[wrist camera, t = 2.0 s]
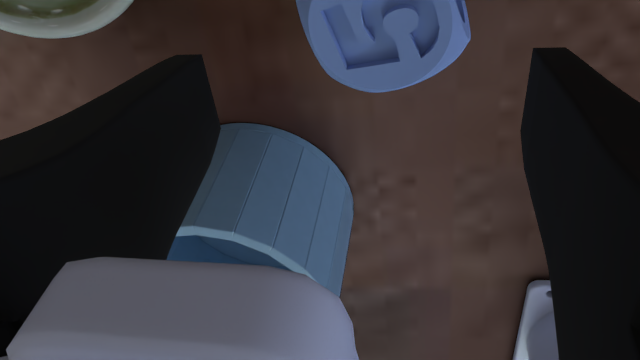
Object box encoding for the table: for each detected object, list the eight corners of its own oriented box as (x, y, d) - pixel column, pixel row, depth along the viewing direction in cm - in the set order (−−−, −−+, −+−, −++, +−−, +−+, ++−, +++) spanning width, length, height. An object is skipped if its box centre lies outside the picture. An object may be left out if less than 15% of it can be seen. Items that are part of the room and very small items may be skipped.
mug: (233, 83, 21) (178, 185, 17) (394, 205, 24) (384, 321, 20) (112, 225, 28) (49, 325, 23) (248, 308, 31) (216, 413, 26)
